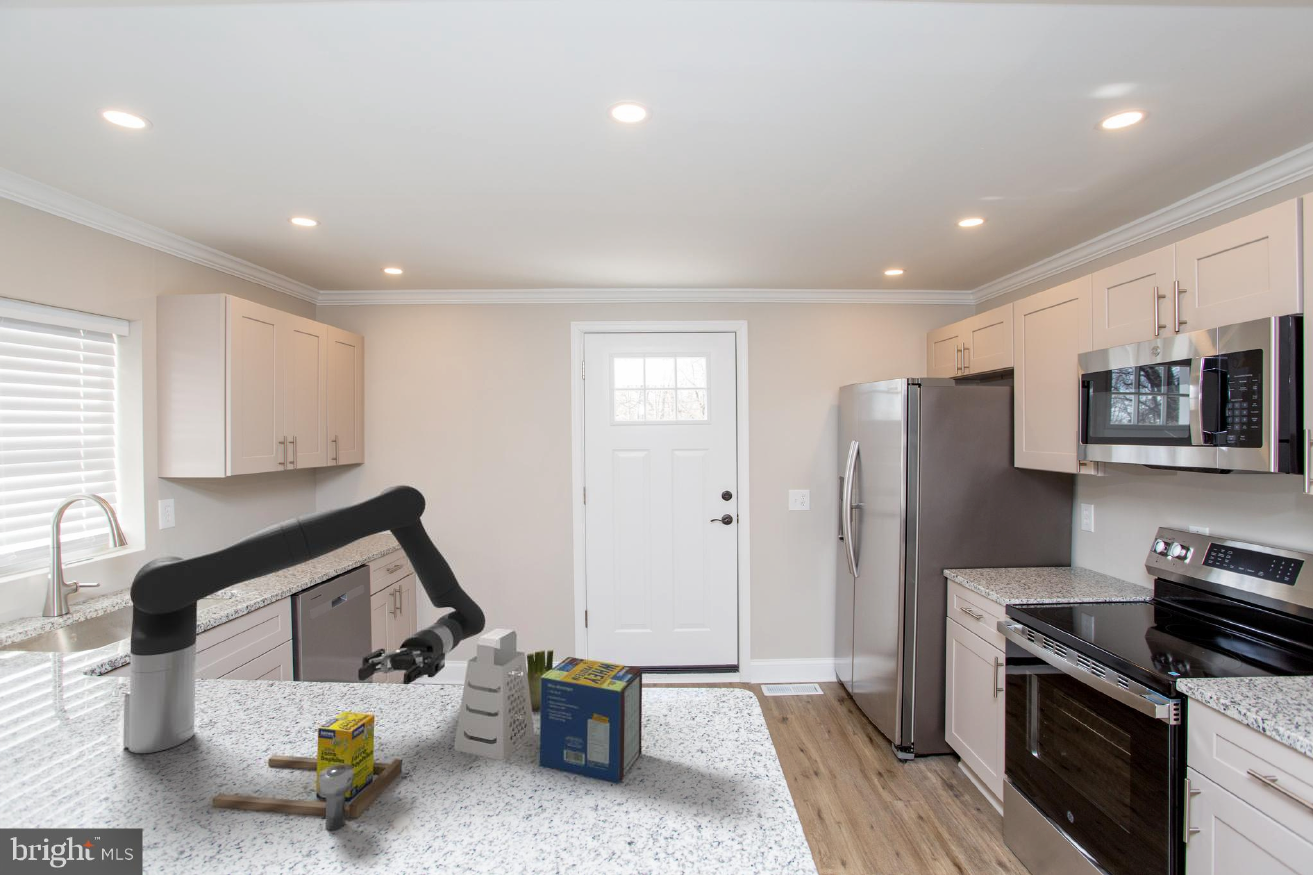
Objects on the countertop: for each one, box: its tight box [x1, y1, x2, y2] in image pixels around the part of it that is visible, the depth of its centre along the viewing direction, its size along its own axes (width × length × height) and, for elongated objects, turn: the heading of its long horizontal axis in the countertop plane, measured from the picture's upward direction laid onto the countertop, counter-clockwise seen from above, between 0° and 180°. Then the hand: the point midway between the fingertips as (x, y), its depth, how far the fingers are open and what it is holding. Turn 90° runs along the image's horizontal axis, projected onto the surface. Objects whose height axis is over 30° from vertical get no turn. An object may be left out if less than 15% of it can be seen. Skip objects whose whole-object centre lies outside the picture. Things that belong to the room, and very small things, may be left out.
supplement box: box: [315, 710, 375, 802], centre depth 93 cm, size 6×6×11 cm
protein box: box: [538, 656, 643, 784], centre depth 103 cm, size 10×15×16 cm
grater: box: [453, 627, 536, 762], centre depth 109 cm, size 10×10×20 cm
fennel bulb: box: [526, 649, 554, 711], centre depth 123 cm, size 6×5×12 cm
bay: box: [211, 754, 403, 819], centre depth 94 cm, size 23×12×2 cm, turn 84°
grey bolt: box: [318, 764, 353, 832], centre depth 85 cm, size 4×4×8 cm
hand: (383, 677), depth 105 cm, fingers open, 8 cm apart
